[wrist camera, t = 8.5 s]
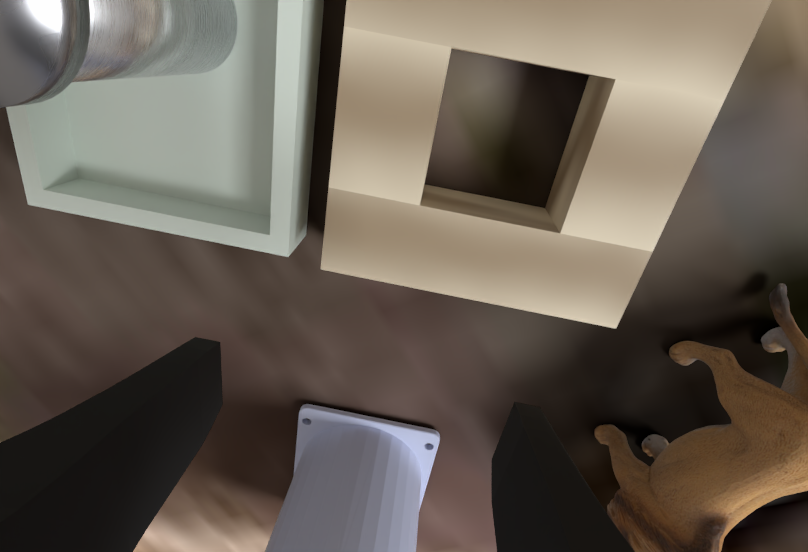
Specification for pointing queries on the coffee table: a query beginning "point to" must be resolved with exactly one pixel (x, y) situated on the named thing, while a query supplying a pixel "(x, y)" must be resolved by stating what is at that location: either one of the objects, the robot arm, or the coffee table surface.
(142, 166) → the tray
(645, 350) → the coffee table surface
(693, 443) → the lion figurine
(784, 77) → the coffee table surface
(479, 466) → the coffee table surface
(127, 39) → the metal pin
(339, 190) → the pin block
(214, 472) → the coffee table surface
